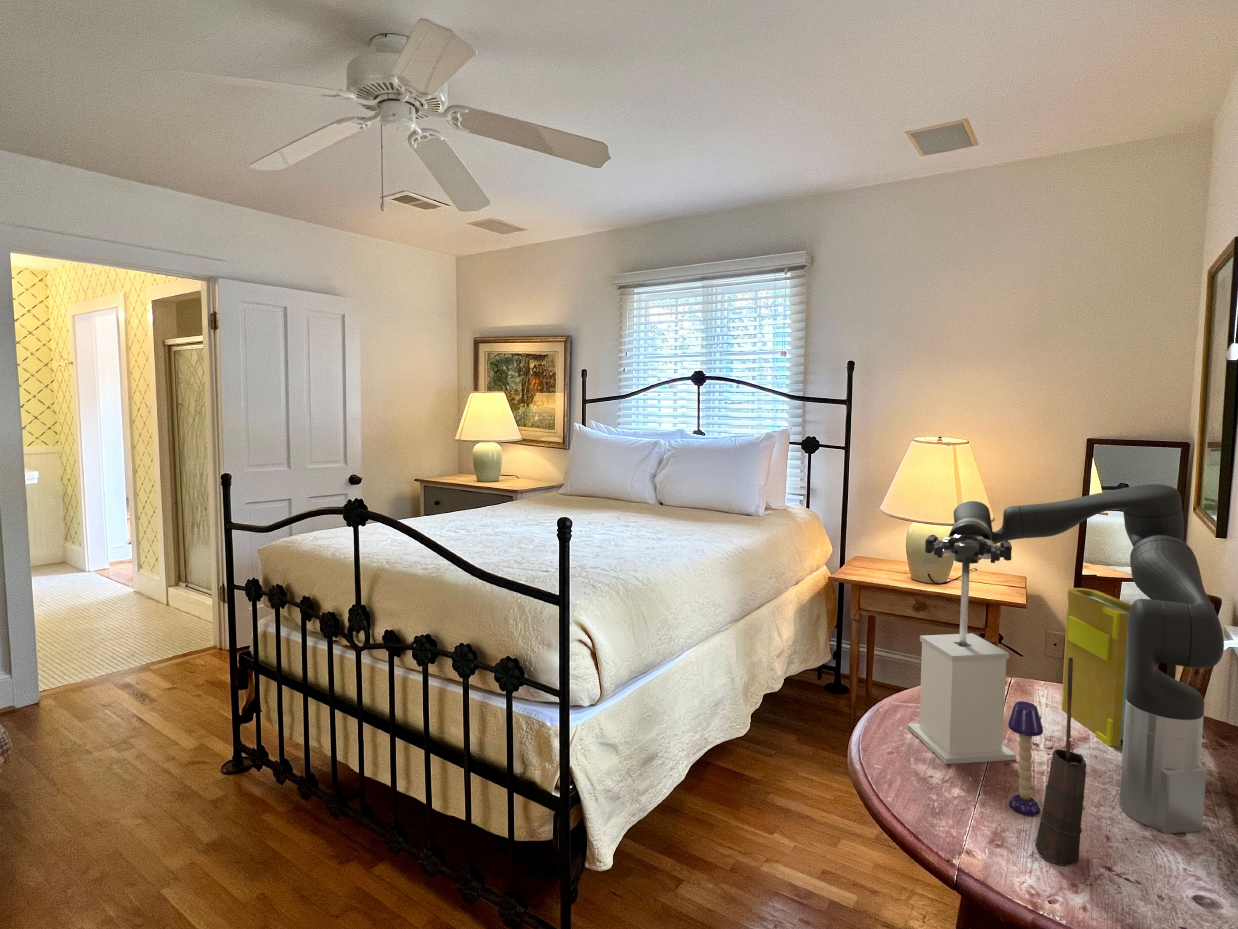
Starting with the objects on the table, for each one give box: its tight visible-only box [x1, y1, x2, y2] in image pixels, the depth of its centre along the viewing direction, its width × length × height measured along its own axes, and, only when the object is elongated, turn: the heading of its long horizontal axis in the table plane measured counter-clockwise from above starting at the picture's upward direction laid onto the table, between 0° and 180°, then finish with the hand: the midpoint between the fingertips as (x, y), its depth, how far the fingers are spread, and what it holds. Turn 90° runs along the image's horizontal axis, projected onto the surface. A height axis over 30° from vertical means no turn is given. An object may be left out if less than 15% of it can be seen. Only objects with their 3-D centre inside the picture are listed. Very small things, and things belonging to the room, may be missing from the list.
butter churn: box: [1035, 657, 1087, 867], centre depth 94 cm, size 9×10×28 cm
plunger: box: [953, 542, 980, 647], centre depth 125 cm, size 8×8×26 cm
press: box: [907, 633, 1017, 765], centre depth 126 cm, size 13×13×19 cm
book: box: [1061, 587, 1132, 747], centre depth 133 cm, size 17×7×25 cm, turn 179°
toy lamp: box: [1007, 700, 1044, 817], centre depth 106 cm, size 5×5×17 cm
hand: (965, 554), depth 122 cm, fingers open, 8 cm apart
